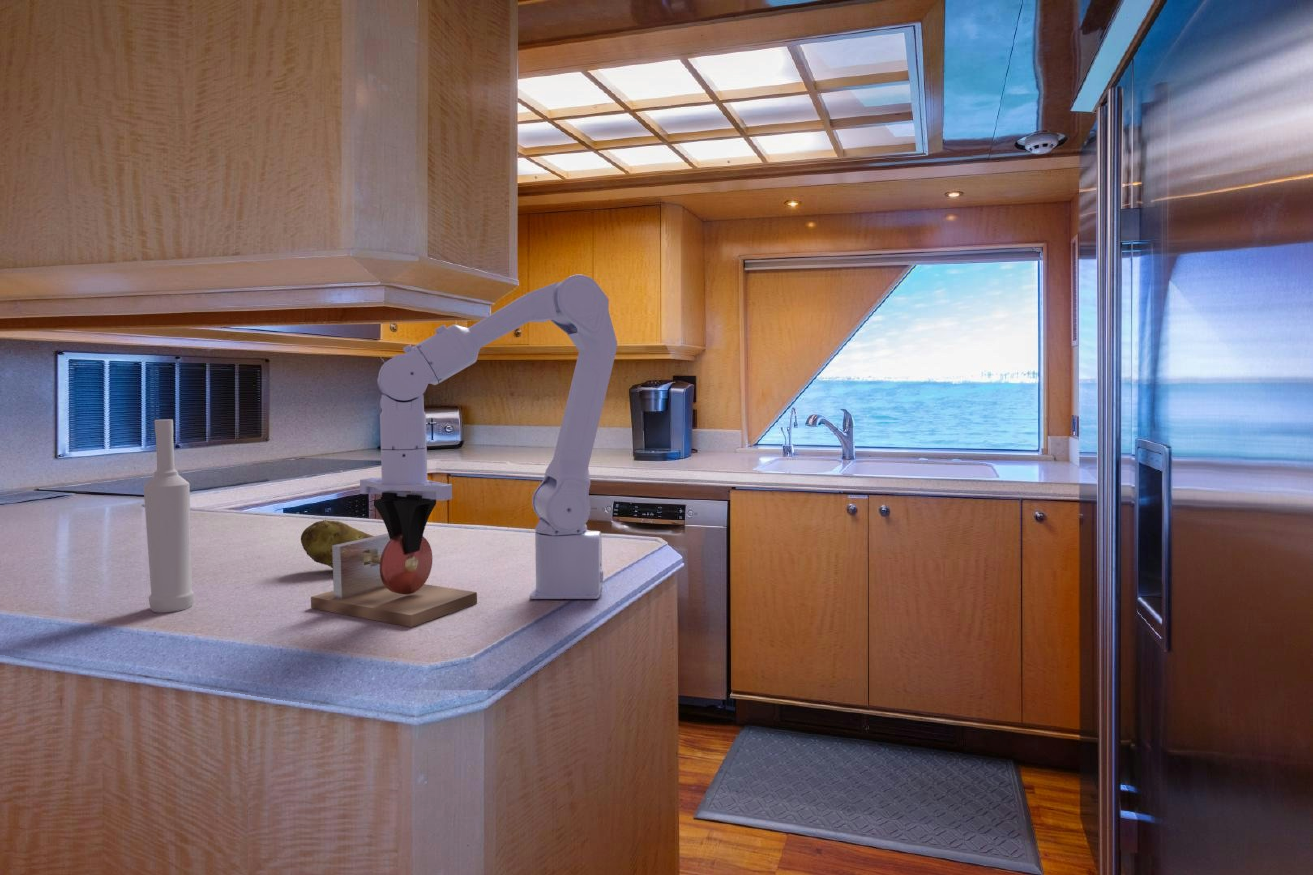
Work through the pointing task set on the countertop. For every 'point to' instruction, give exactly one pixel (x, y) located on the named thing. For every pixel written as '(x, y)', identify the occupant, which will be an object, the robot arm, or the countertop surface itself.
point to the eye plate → (357, 566)
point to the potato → (328, 539)
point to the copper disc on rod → (403, 566)
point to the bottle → (168, 529)
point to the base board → (398, 604)
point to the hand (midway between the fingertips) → (406, 551)
